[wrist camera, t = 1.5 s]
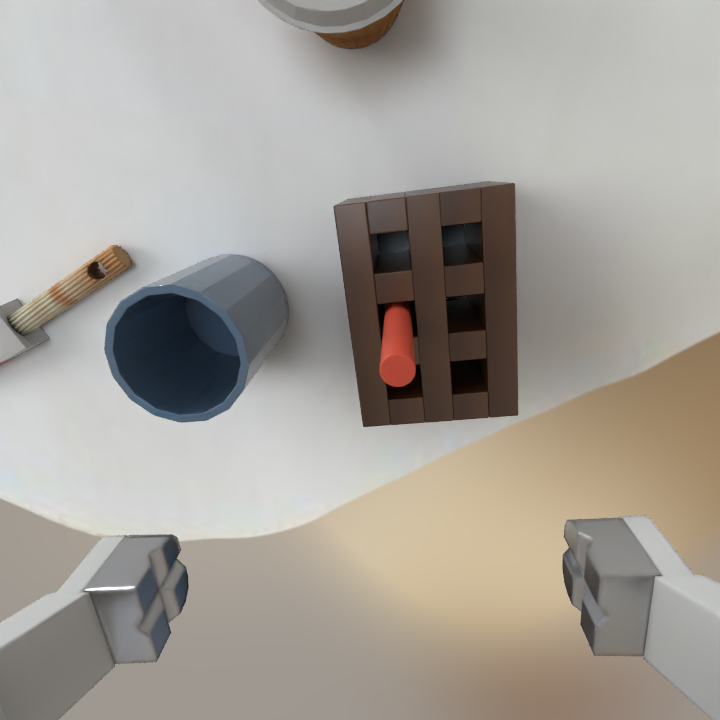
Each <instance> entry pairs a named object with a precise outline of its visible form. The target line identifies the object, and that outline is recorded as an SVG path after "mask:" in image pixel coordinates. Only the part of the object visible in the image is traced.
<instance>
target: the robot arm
mask: <svg viewBox="0 0 720 720" xmlns="http://www.w3.org/2000/svg"><path fill="white" fill-rule="evenodd" d="M564 537H565V540H566V542H567V544H568V546H569V548H568V550H567V551H566V552H565V553H564V554H563V575H564V582H565V586H566V589H567V593H568V596H569V598H570V601H571V603H572V605H573V606H575V607H576V608H577V609H578V610H580V611H581V626H582V629H583V631H584V633H585V635H586V638H587V640H588V642H589V645H590V647H591V649H592V651H593V654H594V655H595V656H644V658H643V659H644V660H645V661H646V662H648V663H649V664H650V665H651V666H652V667H653V668H654V669H655V670H657V671H658V672H659V673H660V674H661V675H662V676H663V677H664V678H665V679H667V680H668V681H669V682H670V683H671V684H672V685H673V686H674V687H675V688H677V689H678V690H679V691H680V692H681V693H682V694H684V695H685V696H686V697H687V698H688V699H689V700H690V701H691V702H692V703H693V704H694V705H696V706H697V707H698V708H699V709H700V710H701V711H702V712H703V713H704V714H706V715H707V716H708V717H709V718H710V719H711V720H720V584H719V583H717V582H715V581H713V580H711V579H709V578H708V577H706V576H704V575H695V574H694V573H693V572H692V571H691V569H690V568H689V567H688V565H687V564H686V563H685V562H684V560H683V559H682V558H681V557H680V555H679V554H678V553H677V551H676V550H675V549H674V548H673V546H672V545H671V544H670V543H669V541H668V540H667V539H666V538H665V536H664V535H663V534H662V532H661V531H660V530H659V529H658V527H657V526H656V525H655V523H654V522H653V521H652V520H651V518H649V517H647V516H645V515H641V516H625V517H618V518H601V519H600V518H599V519H577V520H567V521H566V524H565V530H564ZM180 551H181V548H180V545H179V541H178V538H177V537H176V536H174V535H129V536H126V535H122V536H106V537H104V538H102V539H100V540H99V541H98V543H97V544H96V545H95V547H94V548H93V549H92V550H91V551H90V552H89V554H88V555H87V556H86V557H85V559H84V560H83V561H82V562H81V563H80V565H79V566H78V567H77V569H76V570H75V571H74V572H73V573H72V575H71V576H70V577H69V578H68V579H67V581H66V582H65V583H64V584H63V586H62V587H61V588H60V589H59V590H58V592H57V593H49V594H47V595H45V596H44V597H43V598H41V599H39V600H37V601H36V602H34V603H33V604H31V605H29V606H27V607H26V608H24V609H22V610H21V611H19V612H17V613H16V614H14V615H12V616H11V617H9V618H7V619H6V620H4V621H2V622H1V623H0V720H58V719H60V718H61V717H62V716H63V715H64V714H65V713H66V712H67V711H68V710H69V709H70V708H71V707H72V706H73V705H74V704H76V703H77V702H78V701H79V700H80V699H81V698H82V697H83V696H84V695H85V694H86V693H87V692H88V691H89V690H90V689H92V688H93V687H94V686H95V685H96V684H97V683H98V682H99V681H100V680H101V679H102V678H103V677H104V676H105V675H106V674H107V673H109V672H110V671H111V670H112V669H113V668H114V667H115V664H125V663H146V662H157V660H158V658H159V656H160V654H161V652H162V650H163V648H164V646H165V644H166V642H167V639H168V637H169V635H170V634H171V631H170V627H169V624H168V623H169V622H171V621H172V620H173V619H174V618H175V617H177V616H178V615H179V614H180V613H181V611H182V609H183V606H184V604H185V602H186V597H187V591H188V575H187V570H186V567H185V566H184V565H183V564H182V563H181V562H180V561H179V560H178V559H177V556H178V555H179V553H180Z"/></svg>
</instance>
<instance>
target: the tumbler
mask: <svg viewBox="0 0 720 720" xmlns="http://www.w3.org/2000/svg"><path fill="white" fill-rule="evenodd" d="M287 321H288V302H287V298H286V295H285V292H284V290H283V288H282V286H281V284H280V282H279V281H278V279H277V278H276V277H275V276H274V275H273V273H272V272H271V271H270V270H268V269H267V268H266V267H265V266H263V265H262V264H261V263H259V262H257V261H255V260H253V259H251V258H248V257H245V256H240V255H221V256H216V257H212V258H209V259H206V260H204V261H202V262H199V263H197V264H195V265H193V266H190V267H188V268H186V269H183V270H181V271H179V272H177V273H174V274H172V275H170V276H167V277H165V278H163V279H161V280H158V281H156V282H154V283H152V284H149V285H147V286H145V287H142V288H141V289H139V290H138V291H136V292H134V293H133V294H131V295H129V296H128V297H126V298H125V299H123V300H121V302H120V303H119V304H118V306H117V308H116V309H115V311H114V312H113V314H112V316H111V317H110V319H109V321H108V322H107V326H106V337H105V349H104V350H105V354H106V357H107V360H108V363H109V366H110V369H111V372H112V376H113V377H114V379H115V380H116V381H117V383H118V384H119V385H120V387H121V388H122V389H123V390H124V392H125V393H126V394H127V396H128V397H129V398H130V399H131V400H132V401H134V402H135V403H137V404H138V405H139V406H141V407H142V408H144V409H145V410H147V411H148V412H150V413H151V414H153V415H155V416H159V417H162V418H166V419H169V420H173V421H177V422H194V421H206V420H209V419H211V418H213V417H215V416H216V415H218V414H220V413H222V412H224V411H226V410H228V409H229V408H230V407H231V406H232V405H233V403H234V402H235V401H236V399H237V398H238V397H239V395H240V394H241V393H242V392H243V390H244V389H245V388H246V386H247V385H248V383H249V382H250V381H251V379H252V378H253V376H254V375H255V374H256V372H257V371H258V369H259V368H260V367H261V365H262V364H263V362H264V361H265V360H266V358H267V357H268V356H269V354H270V353H271V351H272V350H273V349H274V347H275V346H276V344H277V343H278V342H279V340H280V339H281V337H282V336H283V333H284V331H285V329H286V325H287Z"/></svg>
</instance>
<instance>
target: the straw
mask: <svg viewBox="0 0 720 720" xmlns="http://www.w3.org/2000/svg"><path fill="white" fill-rule="evenodd" d="M415 373H416V365H415V355H414V344H413V333H412V322H411V312H410V301H405V302H395V303H386V306H385V317H384V328H383V338H382V349H381V360H380V375H381V378H382V379H383V380H384V382H386V383H387V384H388V385H391V386H394V387H402V386H405V385H407V384H409V383H410V382H411V381H412V380H413V378H414V376H415Z"/></svg>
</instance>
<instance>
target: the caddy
mask: <svg viewBox="0 0 720 720" xmlns="http://www.w3.org/2000/svg"><path fill="white" fill-rule="evenodd" d="M334 214H335V221H336V229H337V236H338V244H339V251H340V259H341V266H342V273H343V281H344V288H345V296H346V303H347V310H348V318H349V325H350V333H351V340H352V347H353V355H354V362H355V370H356V377H357V384H358V392H359V399H360V407H361V414H362V421H363V426H364V427H370V426H383V425H390V424H391V425H398V424H411V423H424V422H439V421H452V420H464V419H477V418H488V417H502V416H516V415H518V365H517V293H516V220H515V184H514V183H504V182H489V181H487V182H480V183H472V184H464V185H456V186H448V187H440V188H432V189H424V190H416V191H408V192H404V193H403V192H401V193H393V194H385V195H377V196H373V197H372V196H369V197H361V198H353V199H348V200H345V201H343V202H341V203H339V204H337V205H335V206H334ZM459 224H464V225H465V244H460V245H451V246H443V245H442V229H441V226H450V225H459ZM399 231H407V232H408V243H409V251H408V250H407V251H399V252H390V253H381V254H379V252H378V242H377V234H382V233H391V232H399ZM464 295H468V299H460V300H450V301H446V297H454V296H464ZM405 301H414V304H410V312H411V322H412V333H413V344H414V355H415V365H416V373H415V376H414V378H413V380H412V381H411V382H410V383H409V384H407V385H405V386H402V387H394V386H391V385H388V384H387V383H386V382H384V380H383V379H382V378H381V375H380V360H381V349H382V338H383V328H384V317H385V307H384V304H385V303H395V302H405Z"/></svg>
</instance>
